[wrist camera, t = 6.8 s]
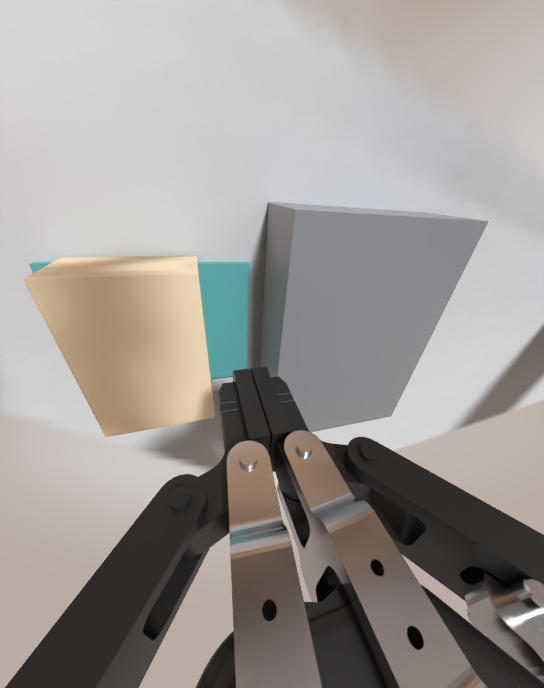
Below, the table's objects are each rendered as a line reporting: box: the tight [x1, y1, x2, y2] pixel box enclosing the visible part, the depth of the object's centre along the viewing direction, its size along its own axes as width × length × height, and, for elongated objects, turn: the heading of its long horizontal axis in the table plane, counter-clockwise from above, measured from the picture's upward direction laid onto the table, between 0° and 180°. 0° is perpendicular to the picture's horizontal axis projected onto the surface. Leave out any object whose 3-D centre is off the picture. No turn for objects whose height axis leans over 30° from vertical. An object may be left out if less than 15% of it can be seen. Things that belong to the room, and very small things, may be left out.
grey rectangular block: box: [260, 202, 488, 432], centre depth 16 cm, size 10×14×4 cm
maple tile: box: [23, 256, 215, 437], centre depth 13 cm, size 6×9×3 cm, turn 177°
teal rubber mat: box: [29, 262, 249, 379], centre depth 14 cm, size 10×8×1 cm
